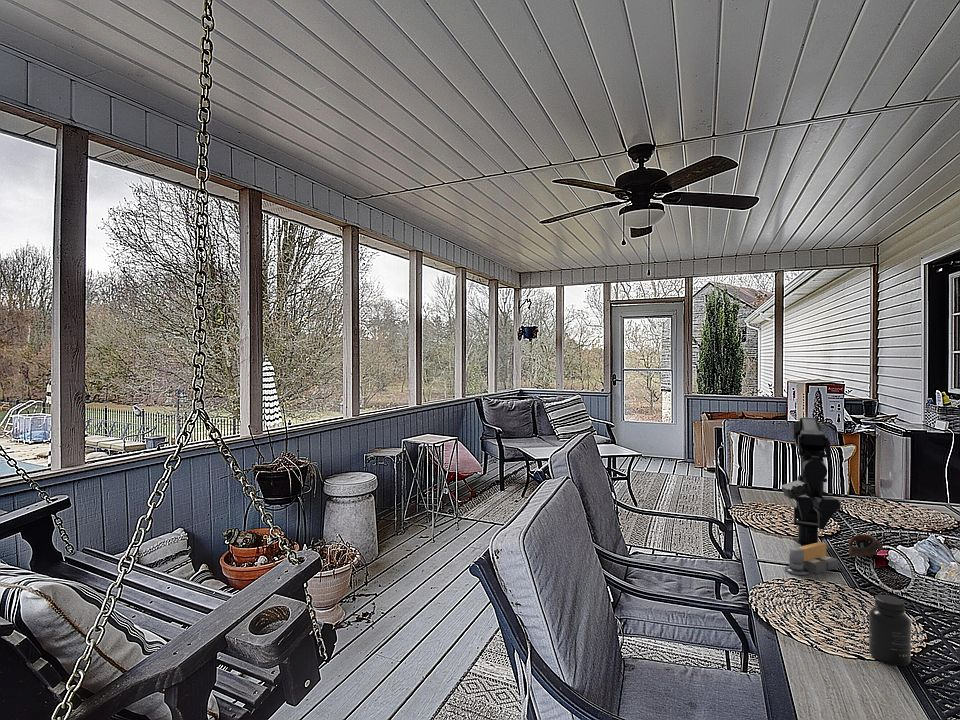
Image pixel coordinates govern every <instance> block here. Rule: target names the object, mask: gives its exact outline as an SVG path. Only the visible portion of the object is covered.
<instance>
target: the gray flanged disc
mask: <svg viewBox="0 0 960 720" xmlns="http://www.w3.org/2000/svg"><path fill="white" fill-rule="evenodd" d="M788 564H789V565H785V566H784V571H785V572H786V573H788V574H790V575H793V576H798V577H799V576H801V577H806V576H808V575H809V574H810V571H808V570H807V569H805V568H804V563H803V564H796V563H792V562H790V561H789V563H788Z"/></svg>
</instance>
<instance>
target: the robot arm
mask: <svg viewBox="0 0 960 720" xmlns="http://www.w3.org/2000/svg"><path fill="white" fill-rule="evenodd" d="M792 440H794V446H795V447H796V448H797V449H798V455H799V457H800V474H798V476H797V480H794V481H791V482H787V483H785V484H782V485H781V490H782V493H783V495H784V496H785V497H787V498H788V499H790V500H794V501H795V505H794V506H793V517H792V518H793V525H794V526H797V537H796V538H793V540H794V541H795V542H796V543H798V544H799V545H801V547H802V546H805V545H809V544H813V543H817V542H819V530H820V531H821V530H822V531H823V530H824V529H825V528H826V526H827V525H828V523H829V521H831V518H832V517H833V516H834V514H835V513H836V512H838V511H841V510H842V501H840V500H839V499H837V498H835V497H833V496H830V495H829V496H828V493H827V491H825V486H824V484H825V483H828V478H826V477H827V475H828V469H827V465H826V464H825V459H829V458H830V455H832V450H831V449H832V448H831V440H829V437H828V436H826V434H825V432H824V431H822V425H821V424H820V423H819V422H818V418H815V417H810V416H809V417H806V416H805V417H804V416H802V417H800V418H799V421H797V422H795V423H794V424H793V425H792ZM824 458H825V459H824Z"/></svg>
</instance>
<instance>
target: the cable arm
mask: <svg viewBox="0 0 960 720" xmlns="http://www.w3.org/2000/svg"><path fill="white" fill-rule="evenodd" d="M788 550H789V552H788V553H789V558H788V559H789V561H790V562H792V563H796V564H803V563H804V561H808V560H811V559H815V558H818V557H822V556H827V543H825V542H822V541H818V542H817V543H813V544H809V545H805V546H802V545H801V546H798V547H789V549H788Z"/></svg>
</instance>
